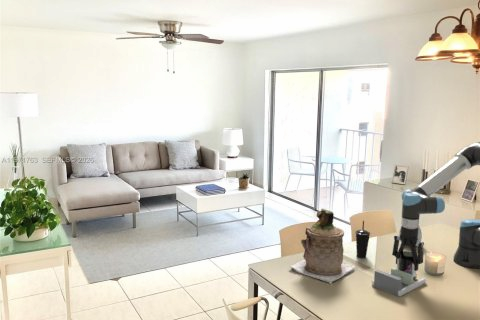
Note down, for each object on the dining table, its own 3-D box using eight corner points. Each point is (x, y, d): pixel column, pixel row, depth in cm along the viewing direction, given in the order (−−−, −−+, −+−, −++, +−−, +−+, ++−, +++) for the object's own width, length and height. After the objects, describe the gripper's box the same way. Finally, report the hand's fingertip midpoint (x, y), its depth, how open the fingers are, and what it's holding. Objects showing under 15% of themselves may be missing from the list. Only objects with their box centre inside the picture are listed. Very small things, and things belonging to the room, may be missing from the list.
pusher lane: (397, 273, 201) (398, 258, 200) (425, 283, 191) (426, 268, 190) (371, 285, 188) (372, 270, 187) (400, 297, 177) (401, 280, 176)
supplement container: (400, 277, 189) (402, 256, 188) (396, 271, 196) (397, 250, 194) (415, 278, 189) (417, 256, 187) (410, 272, 195) (412, 251, 194)
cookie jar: (356, 269, 205) (360, 207, 200) (331, 285, 187) (334, 218, 183) (314, 256, 222) (316, 199, 217) (287, 270, 204) (289, 207, 199)
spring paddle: (391, 277, 195) (392, 267, 194) (412, 285, 187) (413, 275, 186) (385, 280, 191) (386, 270, 191) (406, 288, 183) (407, 278, 183)
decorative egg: (396, 240, 247) (398, 216, 245) (417, 241, 246) (419, 217, 244) (401, 248, 235) (403, 222, 233) (423, 249, 234) (425, 223, 232)
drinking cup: (369, 259, 218) (371, 223, 215) (354, 258, 219) (356, 222, 216) (368, 254, 225) (370, 219, 222) (353, 253, 227) (355, 218, 224)
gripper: (386, 222, 194) (382, 268, 198) (426, 233, 179) (422, 283, 182) (394, 220, 199) (391, 265, 202) (434, 230, 184) (430, 278, 187)
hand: (406, 273), depth 192 cm, fingers closed on supplement container, 7 cm apart
